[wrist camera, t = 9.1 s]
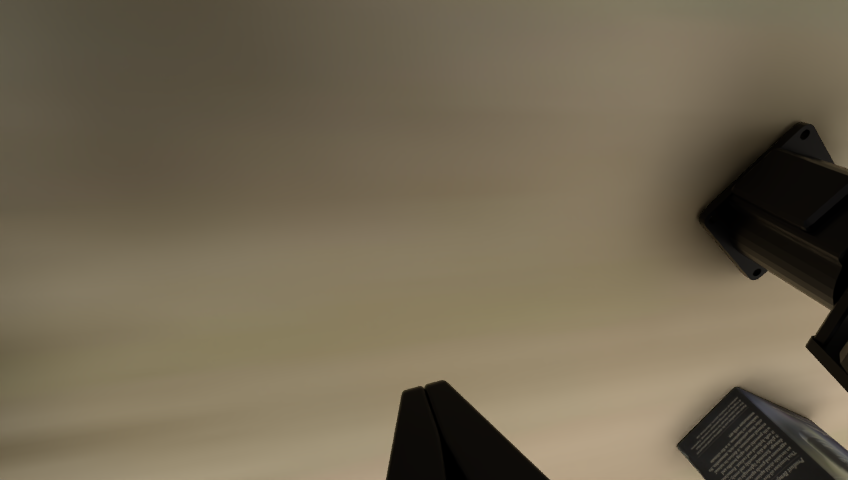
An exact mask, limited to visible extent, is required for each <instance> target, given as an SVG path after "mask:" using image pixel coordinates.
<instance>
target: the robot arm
mask: <svg viewBox="0 0 848 480" xmlns="http://www.w3.org/2000/svg"><path fill="white" fill-rule="evenodd" d="M711 216H712V217H711ZM710 217H711V218H710ZM699 222H700V224H701V225H702V226H703V227H704V228H705V230H706V231H707V232H708V233H709V234H710V235H711V237H712V238H713V239H714V240H715V241H716V243H717V244H718V245H719V246H720V247H721V248H722V250H723V251H724V252H725V253H726V254H727V255H728V257H729V258H730V259H731V260H732V261H733V262H734V264H735V265H736V266H737V267H738V268H739V270H740V271H741V272H742V273H743V274H744V275H745V276H746V277H748V278H749V279H751V280H756V279H758V278H760V277H761V276H762V275H763V274H765V273H766V272H767V271H769V272H771V273H773V274H774V275H776V276H777V277H779V278H780V279H782V280H784V281H785V282H787V283H788V284H790V285H792V286H793V287H795V288H796V289H798V290H800V291H801V292H803V293H804V294H806V295H808V296H809V297H811V298H812V299H814V300H815V301H817V302H819V303H820V304H822V305H823V306H825V307H827V308H828V309H830V310H831V311H830V313H829V314H828V316H827V317H826V319H825V321H824V322H823V324H822V325H821V327H820V328H819V330H818V331H817V333H816V335H815V336H811V338H810V339H809V341H808V343H807V344H806V348H807V349H808V350H809V351H810V352H811V353H812V354H813V355H814V356H815V358H816V359H817V360H818V361H819V362H820V363H821V364H822V365H823V366H824V367H825V368H826V369H827V370H828V372H829V373H830V374H831V375H832V376H833V377H834V378H835V379H836V380H837V381H838V382H839V383H840V384H841V386H842V387H843V388H844V389H845V390H846V391H847V392H848V169H846V168H844V167H841V166H838V165H835V164H834V162H833V160H832V159H831V157H830V155H829V153H828V151H827V149H826V148H825V146H824V144H823V142H822V140H821V138H820V137H819V135H818V133H817V131H816V129H815V127H814V126H813V125H812V124H808V123H805V122H800V123H797V124H796V125H794V126H793V127H792V128H791V129H790V130H789V131H788V132H787V133H786V134H785V135H784V136H783V137H781V138H780V139H779V140H778V141H777V142H776V143H775V144H774V145H773V146H772V147H771V148H770V149H769V150H768V151H766V152H765V153H764V154H763V155H762V156H761V157H760V158H759V159H758V160H757V161H756V162H755V163H754V164H753V165H751V166H750V167H749V168H748V169H747V170H746V171H745V172H744V173H743V174H742V175H741V176H740V177H739V178H738V179H737V180H735V181H734V182H733V183H732V184H731V185H730V186H729V187H728V188H727V189H726V190H725V191H724V192H723V193H722V194H720V195H719V196H718V197H717V198H716V199H715V200H714V201H713V202H712V203H711V204H710V205H709V206H708V207H707V208H705V209H704V210H703V211H702V213H701V214H700V216H699ZM386 480H550V479H548V478H547V477H546V476H545V475H544V474H543V473H542V472H541V471H540V470H539V469H538V468H537V467H536V466H535V465H534V464H533V463H532V462H531V461H530V460H528V459H527V458H526V457H525V456H524V455H523V454H522V453H521V452H520V451H519V450H518V449H517V448H516V447H515V446H514V445H513V444H512V443H511V442H510V441H509V440H507V439H506V438H505V437H504V436H503V435H502V434H501V433H500V432H499V431H498V430H497V429H496V428H495V427H494V426H493V425H492V424H491V423H490V422H489V421H488V420H486V419H485V418H484V417H483V416H482V415H481V414H480V413H479V412H478V411H477V410H476V409H475V408H474V407H473V406H472V405H471V404H470V403H469V402H468V401H467V400H465V399H464V398H463V397H462V396H461V395H460V394H459V393H458V392H457V391H456V390H455V389H454V388H453V387H452V386H451V385H450V384H449V383H447V382H446V381H444V380H441V381H437V382H433V383H429V384H427V385H426V386H425V387H424V388H423V387H422V386H418V387H415V388H411V389H407V390H404V391H403V393H402V395H401V401H400V406H399V412H398V417H397V422H396V428H395V433H394V439H393V444H392V450H391V455H390V461H389V466H388V472H387V477H386Z"/></svg>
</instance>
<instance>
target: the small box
mask: <svg viewBox="0 0 848 480" xmlns="http://www.w3.org/2000/svg"><path fill="white" fill-rule="evenodd" d="M678 449H679V450H680V451H681V452H682V454H683V455H684V456H685V457H686V458H687V459H688V460H689V461H690V463H691V464H692V465H693V466H694V467H695V468H696V469H697V471H698V472H699V473H700V474H701V475H702V476H703V478H704V479H705V480H848V451H847V450H846V449H845V448H844V447H842V446H841V445H840V444H839V443H838V442H836V441H835V440H834V439H833V438H832V437H830V436H829V435H828V434H827V433H826V432H824V431H823V430H822V429H821V428H820V427H818V426H817V425H816V424H815V423H813V422H812V421H811V420H809V419H806V418H804V417H802V416H800V415H798V414H796V413H793V412H791V411H789V410H787V409H785V408H782V407H780V406H778V405H776V404H774V403H771V402H769V401H767V400H765V399H763V398H760V397H758V396H756V395H754V394H752V393H749V392H747V391H745V390H743V389H741V388H739V387H735V388H734V389H733V390H732V391H731V392H730V393H729V394H728V395H727V396H726V397H725V398H724V399H723V400H722V401H721V402H720V403H719V404H718V405H717V406H716V407H715V408H714V409H713V410H712V411H711V412H710V413H709V414H708V415H707V416H706V417H705V418H704V419H703V420H702V421H701V422H700V423H699V424H698V425H697V426H696V427H695V428H694V429H693V430H692V431H691V432H690V433H689V434H688V435H687V436H686V437H685V438H684V439H683V440H682V441H681V442H680V443H679V444H678Z"/></svg>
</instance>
